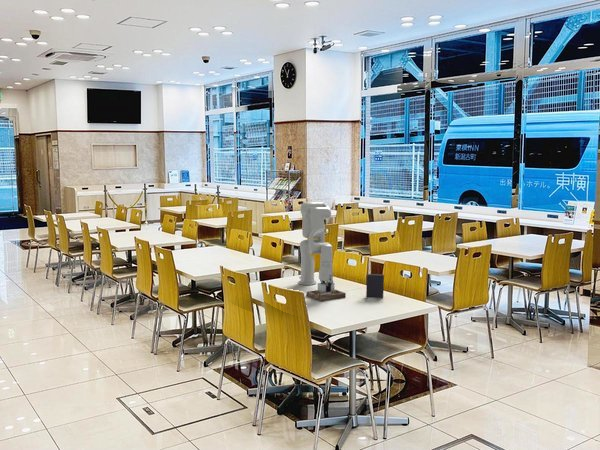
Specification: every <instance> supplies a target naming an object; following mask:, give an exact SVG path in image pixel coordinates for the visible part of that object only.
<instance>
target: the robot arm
mask: <svg viewBox="0 0 600 450" xmlns="http://www.w3.org/2000/svg"><path fill="white" fill-rule="evenodd" d="M300 214H301V218H302V228H301V229H302V230H301V231H302V237H303V238H305V239H304V240H302V241H300V242H299V248H300V249H299V251H300V276H299V279H300V280H299V281H298V284H299V285H302V286H311V285H312V286H314V285H316V284H317V281H316V280H315V257H314V256H313V255H320V265H319V269H318V270H319V271H318V280H319V281H320V283H324V282H327V286H326V292H331V285H332V283H334V276H333V275H334V270H333V245H331V244H330V242H328V241H327V242H325V239H326V238H325V235H326V234H325V233H326V225H325V220H330V219H331V218H332V211H331V209H330V207H329V205H328V204H326V202H324V201H309V202H308V201H305V202H303V203H301V205H300ZM312 254H313V255H312ZM328 282H329V284H328Z"/></svg>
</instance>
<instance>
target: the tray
mask: <svg viewBox="0 0 600 450" xmlns="http://www.w3.org/2000/svg"><path fill="white" fill-rule="evenodd" d="M305 295H306V298H307V297H308V298H310V299H313V300H316V301H318V302H324V301H325V302H326V301H330V300H338V299H345V298H346V296H347V294H346V292H344V291H341V290H339V289H335V288H334V292H331V293H325V294H321V292H319V293H318V289H315V290H310V291H309V290H308V291H306V294H305Z"/></svg>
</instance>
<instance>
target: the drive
mask: <svg viewBox="0 0 600 450" xmlns="http://www.w3.org/2000/svg"><path fill="white" fill-rule="evenodd" d="M328 284H329V282H328ZM326 286H327V282H324V283H321V282H317V290H318V293H319V292H321V294H325V293H331V292H334V289H335V282H333V283H332V285H331V292H326Z"/></svg>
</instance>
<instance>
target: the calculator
mask: <svg viewBox="0 0 600 450" xmlns="http://www.w3.org/2000/svg"><path fill="white" fill-rule="evenodd" d="M384 282H385V275H384V274H380V273H379V274H378V273H367V274H366V286H365V287H366V291H365V292H366V294H365V296H366V298H373V299H375V298H377V299H379V298H380V299H383V298H384V287H385V286H384V285H385V283H384Z"/></svg>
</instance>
